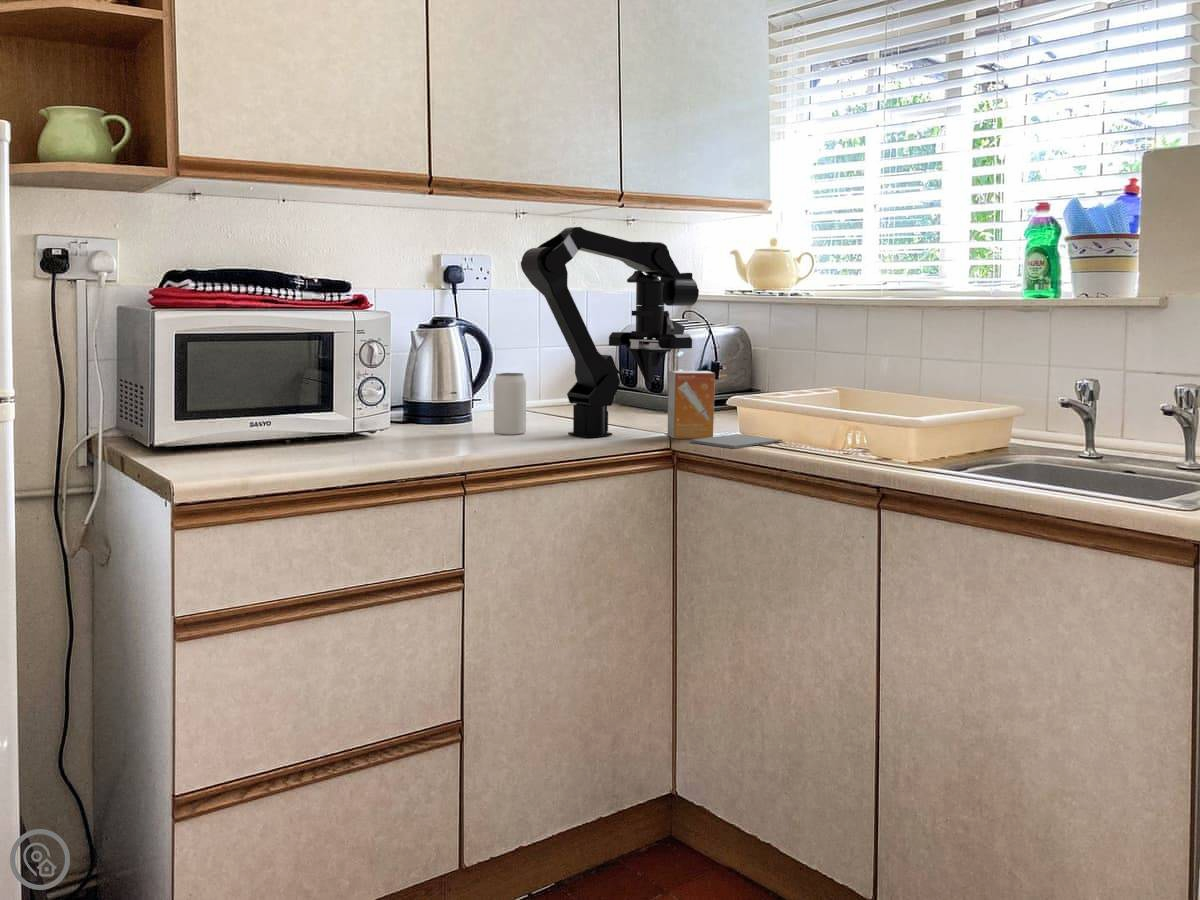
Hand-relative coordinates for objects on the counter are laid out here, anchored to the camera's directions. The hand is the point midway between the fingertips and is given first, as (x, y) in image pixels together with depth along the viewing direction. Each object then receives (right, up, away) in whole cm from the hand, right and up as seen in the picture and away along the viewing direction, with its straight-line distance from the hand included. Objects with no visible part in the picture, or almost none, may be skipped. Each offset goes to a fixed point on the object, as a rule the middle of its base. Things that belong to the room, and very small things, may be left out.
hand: (649, 382), depth 218 cm
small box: (+8, -11, -7) cm, 15 cm away
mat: (+16, -12, -14) cm, 25 cm away
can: (-28, -11, -3) cm, 30 cm away
